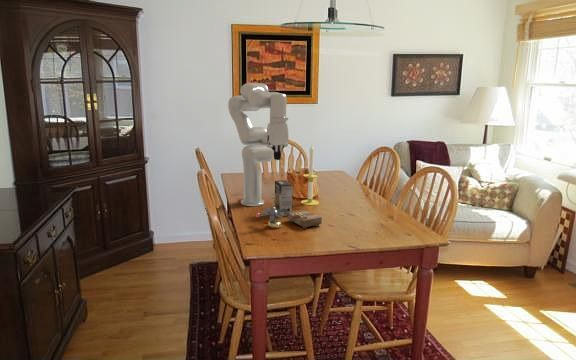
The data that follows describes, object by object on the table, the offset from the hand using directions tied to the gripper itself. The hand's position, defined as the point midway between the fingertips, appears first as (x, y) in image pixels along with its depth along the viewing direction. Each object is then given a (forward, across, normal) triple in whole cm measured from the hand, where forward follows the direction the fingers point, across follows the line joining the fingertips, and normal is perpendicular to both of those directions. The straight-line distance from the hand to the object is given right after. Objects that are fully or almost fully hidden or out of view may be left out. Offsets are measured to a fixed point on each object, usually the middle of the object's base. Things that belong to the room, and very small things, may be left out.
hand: (277, 159), depth 217 cm
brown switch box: (+29, -8, +13) cm, 33 cm away
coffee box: (+29, -7, -5) cm, 31 cm away
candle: (+29, -30, -14) cm, 44 cm away
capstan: (+29, +8, +10) cm, 32 cm away
